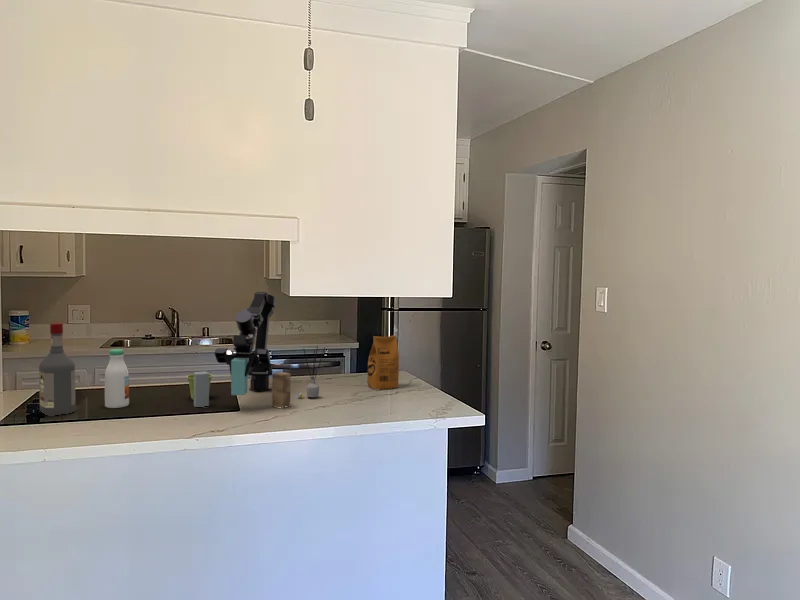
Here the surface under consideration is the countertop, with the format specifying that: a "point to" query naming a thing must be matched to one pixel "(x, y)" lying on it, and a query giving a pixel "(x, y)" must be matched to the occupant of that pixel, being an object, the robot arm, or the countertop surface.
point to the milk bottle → (116, 381)
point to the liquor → (57, 377)
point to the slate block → (201, 389)
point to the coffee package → (383, 363)
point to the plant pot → (191, 383)
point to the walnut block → (281, 389)
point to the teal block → (238, 376)
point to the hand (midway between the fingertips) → (238, 375)
